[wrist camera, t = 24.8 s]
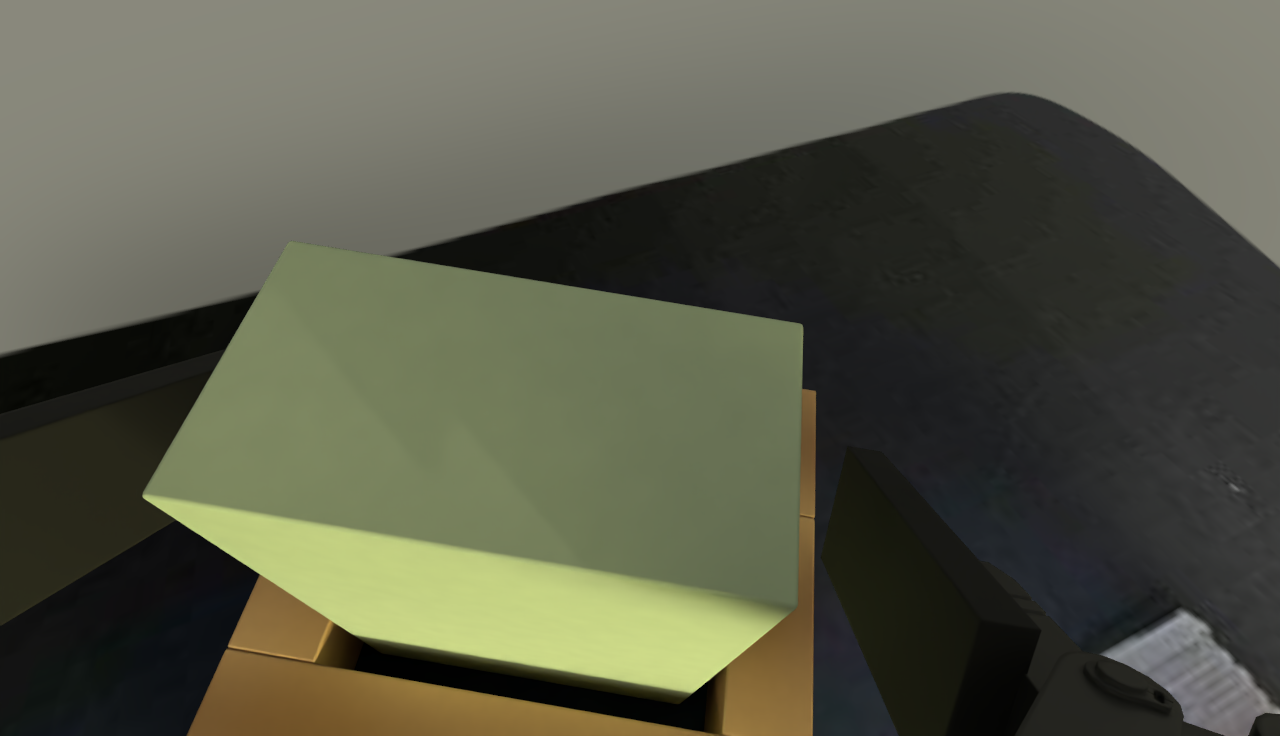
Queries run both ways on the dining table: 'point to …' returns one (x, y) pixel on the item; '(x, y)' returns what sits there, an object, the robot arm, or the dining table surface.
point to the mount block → (477, 722)
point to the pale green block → (504, 469)
